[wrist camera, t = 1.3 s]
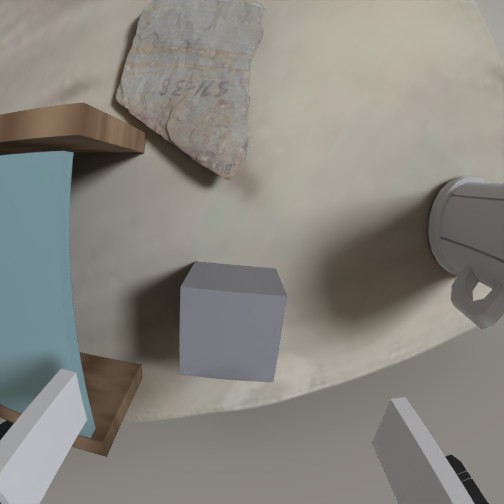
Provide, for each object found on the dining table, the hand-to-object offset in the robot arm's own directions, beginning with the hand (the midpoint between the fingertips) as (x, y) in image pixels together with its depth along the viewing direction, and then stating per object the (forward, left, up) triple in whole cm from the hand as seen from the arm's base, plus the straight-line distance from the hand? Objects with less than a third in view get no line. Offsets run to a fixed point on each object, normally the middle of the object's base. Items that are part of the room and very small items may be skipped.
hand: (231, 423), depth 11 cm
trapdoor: (-20, +2, -6) cm, 21 cm away
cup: (+19, +8, -13) cm, 25 cm away
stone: (-4, +18, -14) cm, 23 cm away
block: (0, 0, -13) cm, 13 cm away
